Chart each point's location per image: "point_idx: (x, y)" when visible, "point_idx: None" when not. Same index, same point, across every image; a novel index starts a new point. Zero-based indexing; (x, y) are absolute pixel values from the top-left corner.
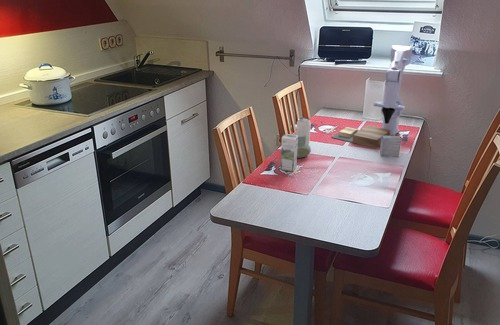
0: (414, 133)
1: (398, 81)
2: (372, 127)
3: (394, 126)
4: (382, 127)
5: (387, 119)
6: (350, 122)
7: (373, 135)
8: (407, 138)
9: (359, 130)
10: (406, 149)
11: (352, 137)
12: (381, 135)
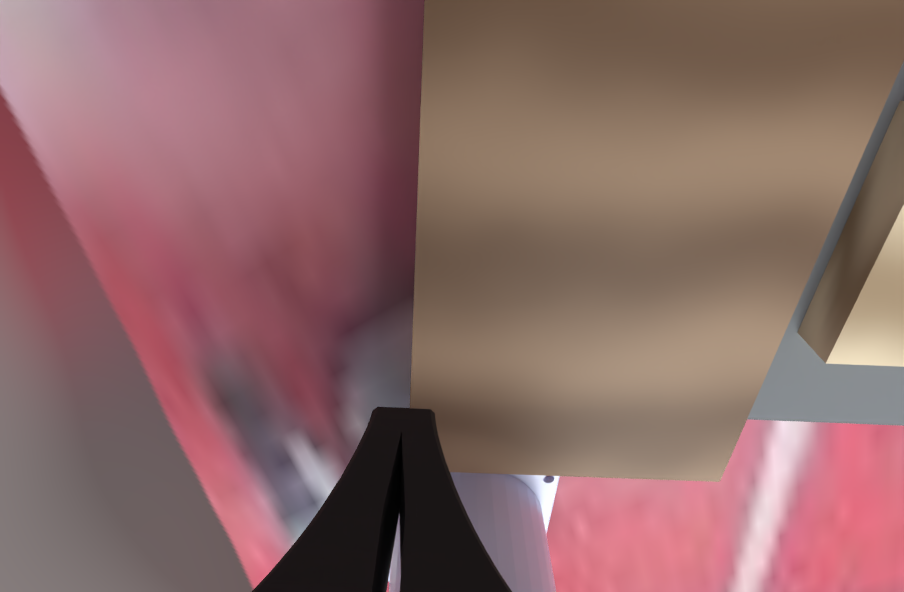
0: (254, 581)
1: None
2: (644, 440)
3: (400, 564)
4: (535, 527)
5: (370, 468)
6: (872, 564)
7: (561, 126)
8: (242, 457)
9: (773, 415)
10: (51, 121)
11: None
12: (439, 202)
